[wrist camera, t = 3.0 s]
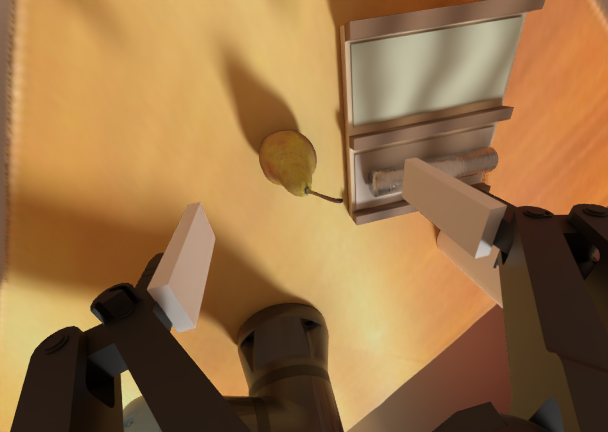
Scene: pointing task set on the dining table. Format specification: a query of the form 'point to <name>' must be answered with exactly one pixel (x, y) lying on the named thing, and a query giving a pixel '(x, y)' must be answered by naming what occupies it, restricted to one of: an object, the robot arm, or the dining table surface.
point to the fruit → (290, 162)
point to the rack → (424, 90)
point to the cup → (474, 266)
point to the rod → (451, 164)
